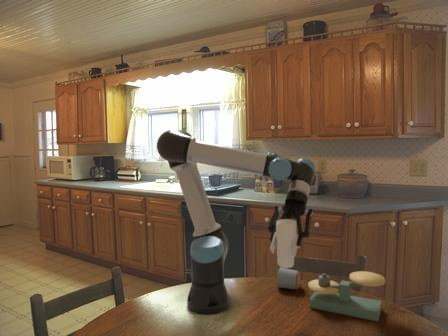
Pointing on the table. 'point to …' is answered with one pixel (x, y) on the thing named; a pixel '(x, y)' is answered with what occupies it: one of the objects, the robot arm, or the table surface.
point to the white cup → (285, 241)
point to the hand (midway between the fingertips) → (282, 252)
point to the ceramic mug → (288, 278)
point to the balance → (346, 295)
